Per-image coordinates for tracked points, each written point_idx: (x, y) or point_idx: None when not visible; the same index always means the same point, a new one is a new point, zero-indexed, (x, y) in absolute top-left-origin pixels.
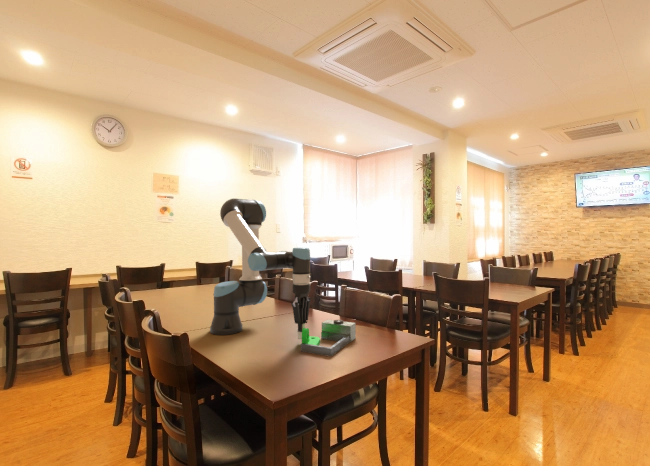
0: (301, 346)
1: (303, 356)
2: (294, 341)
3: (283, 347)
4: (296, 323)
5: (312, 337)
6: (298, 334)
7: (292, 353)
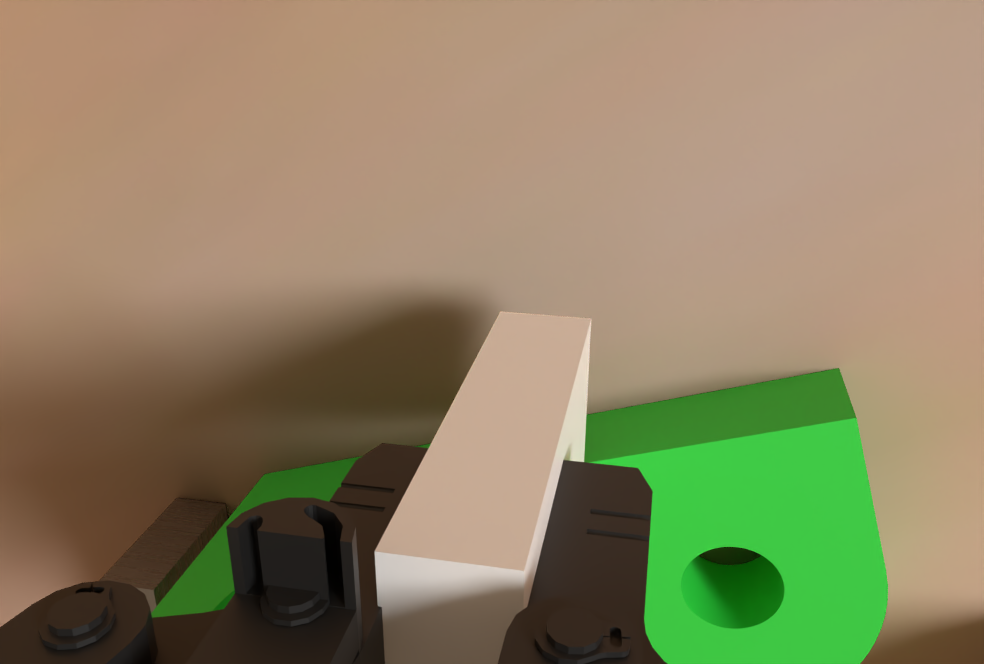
0: (130, 560)
1: (38, 600)
2: (640, 112)
3: (164, 95)
4: (270, 542)
5: (781, 560)
6: (478, 372)
7: (29, 410)
